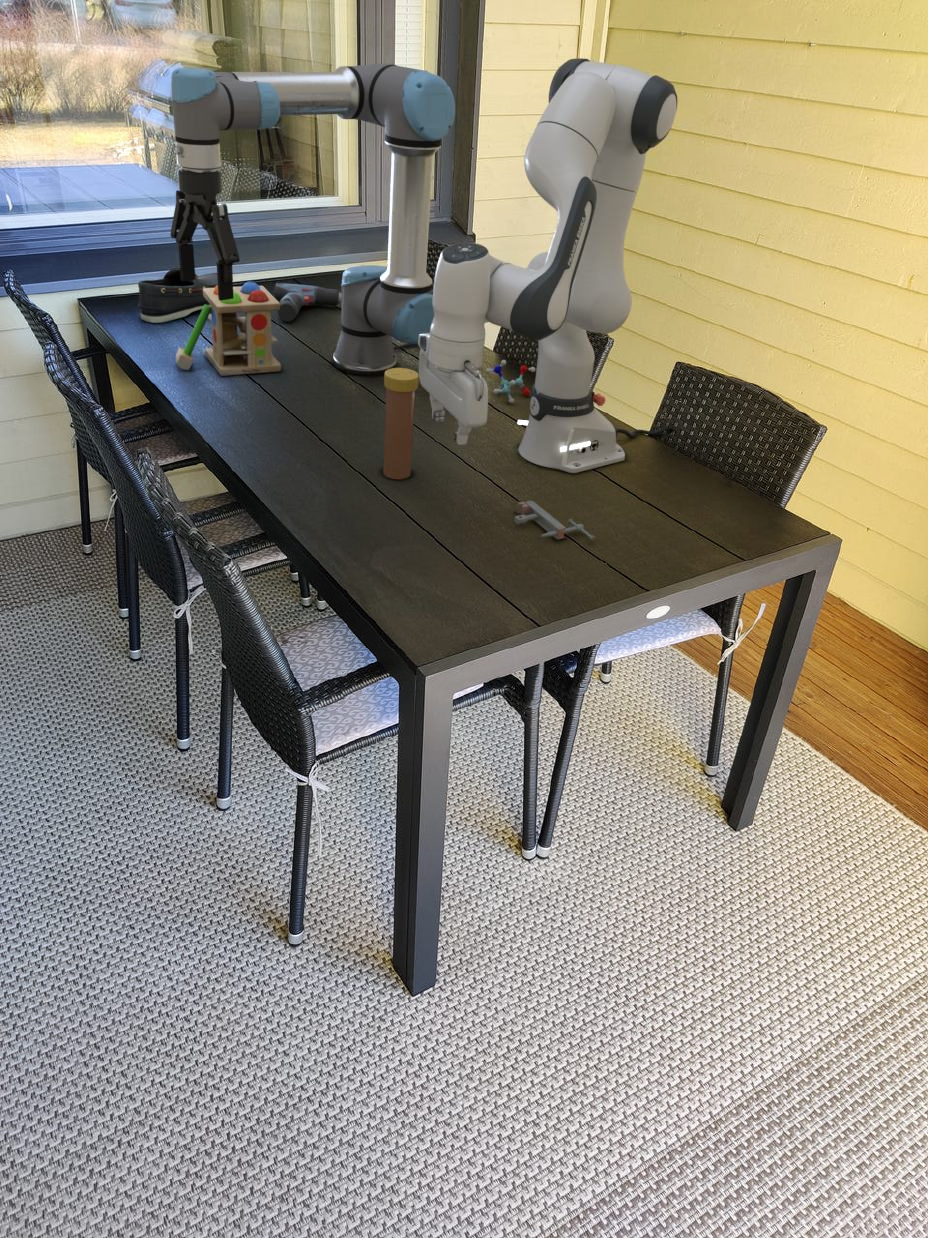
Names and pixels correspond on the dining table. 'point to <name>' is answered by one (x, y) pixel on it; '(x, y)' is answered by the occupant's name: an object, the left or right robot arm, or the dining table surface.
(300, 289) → the power drill
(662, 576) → the dining table surface
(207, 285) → the boat shoe
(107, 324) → the dining table surface
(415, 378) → the lid
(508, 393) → the molecular model
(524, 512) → the clamp
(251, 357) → the pounding bench toy
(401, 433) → the jar
